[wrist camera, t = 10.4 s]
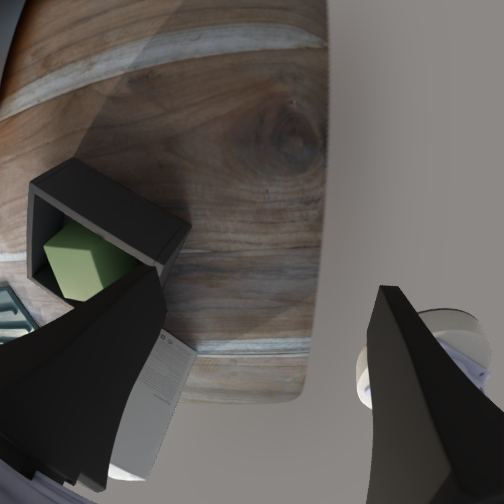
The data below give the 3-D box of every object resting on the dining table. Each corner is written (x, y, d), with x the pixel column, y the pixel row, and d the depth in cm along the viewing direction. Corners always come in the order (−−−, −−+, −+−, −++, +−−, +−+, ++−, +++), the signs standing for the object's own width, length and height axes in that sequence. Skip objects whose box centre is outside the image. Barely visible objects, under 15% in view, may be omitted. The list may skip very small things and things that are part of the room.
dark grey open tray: (192, 225, 20) (164, 265, 17) (153, 308, 25) (130, 347, 22) (72, 156, 19) (29, 181, 15) (58, 247, 24) (27, 278, 20)
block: (139, 268, 22) (110, 307, 19) (94, 263, 23) (64, 297, 20) (126, 215, 20) (90, 250, 16) (79, 214, 21) (42, 245, 17)
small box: (141, 311, 26) (68, 438, 15) (199, 352, 27) (149, 483, 17) (113, 345, 30) (55, 445, 19) (161, 378, 32) (116, 481, 21)
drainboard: (9, 286, 30) (3, 293, 28) (62, 356, 35) (58, 364, 34) (-32, 298, 36) (-37, 303, 35) (7, 350, 42) (3, 355, 41)
